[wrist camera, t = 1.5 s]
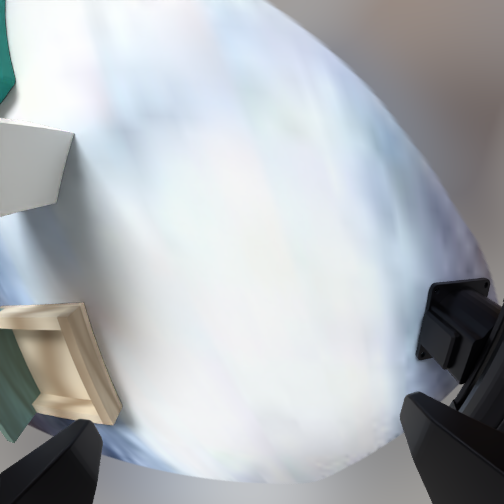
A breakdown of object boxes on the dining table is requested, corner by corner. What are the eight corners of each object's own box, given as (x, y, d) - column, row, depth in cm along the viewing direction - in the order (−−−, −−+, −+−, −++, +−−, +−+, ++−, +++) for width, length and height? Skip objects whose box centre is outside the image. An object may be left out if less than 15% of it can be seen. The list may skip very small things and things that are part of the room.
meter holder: (83, 302, 20) (29, 351, 13) (122, 406, 22) (94, 466, 15) (2, 305, 20) (-48, 341, 13) (41, 396, 22) (7, 440, 15)
